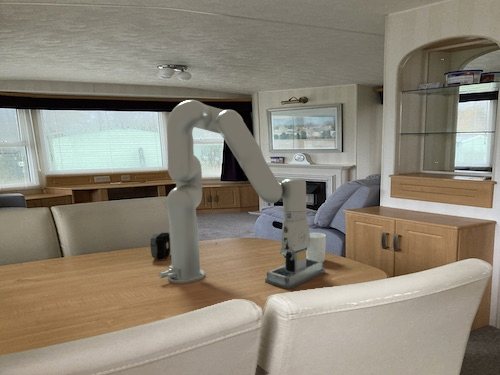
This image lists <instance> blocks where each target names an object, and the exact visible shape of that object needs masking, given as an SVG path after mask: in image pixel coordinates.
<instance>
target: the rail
mask: <svg viewBox="0 0 500 375" xmlns="http://www.w3.org/2000/svg"><path fill="white" fill-rule="evenodd" d="M325 273H326V269H324V262H321V261H316V260H312V259H308V258H307V257H306V268H305V269H303V270H300V271H298V272H296V273H292V272H288V271H285V264H284V265H280V266H279V267H276V268H273V269H271V270H269V271H266V278H265V279H264V282H265V283H268V284H271V285H273V286H276V287H281V288H283V289H286V290H292V289H294V288H296V287H297V286H300V285H302V284H304V283H306V282H309V281H310V280H312V279H314V278H316V277H319V276H320V275H322V274H325Z"/></svg>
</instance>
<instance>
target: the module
mask: <svg viewBox="0 0 500 375" xmlns="http://www.w3.org/2000/svg"><path fill="white" fill-rule="evenodd" d="M289 254H290V255H291V252H289ZM306 258H307V254H306V249H302V250H299V251H297V252H294V258H293V260H295V271H294V272H292V273H296V272H298V271H300V270H303V269H305V268H306ZM284 261H285V262H284V265H285V271H287V270H286V259H285V258H284ZM288 272H291V271H288Z"/></svg>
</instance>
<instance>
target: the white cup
mask: <svg viewBox="0 0 500 375" xmlns="http://www.w3.org/2000/svg"><path fill="white" fill-rule="evenodd" d="M309 233H310V245H309V247H307V250H306V258H308V259H312V260H316V261H321V262H323V263H324V262H325V259H326V257H325V256H326V247H327V246H326V245H327V243H326V242H327V235H326V234H325V233H322V232H309Z"/></svg>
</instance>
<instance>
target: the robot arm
mask: <svg viewBox="0 0 500 375" xmlns="http://www.w3.org/2000/svg"><path fill="white" fill-rule="evenodd" d="M194 128H196V129H201V130H205V131H208V132H212V133H215V134H219V135H221V137H222V138H223V140H224V142H225V143H226V144H227V146H228V148H229V149H230V151H231V152H232V154H233V156H234V158H235V159H236V161H237V162H238V164H239V166H240V168H241V169H242V171H243V173H244V175H245V176H246V177H247V179H248V181H249V183H250V184H251V186H252V187H253V189H254V190H255V193H257V195H258V196H259V198H260V199H261V200H262V201H263V202H265V203H267V204H275V203H277V202H279V201H280V200H281V199H282V204H283V206H282V207H283V220H282V221H283V222H282V228H281V248H280V250H279V253H280V255H282V256H283V257H284V260H285V259H286V270H287V271H291V272H294V271H295V260H293V258H294V252H297V251H299V250H302V249H306V250H307V247H309V245H310V233H311V232H310V225H309V221H308V218H307V182H306V180H305V179H304V178H301V177H288V178H280V177H276V176H275V174H274V173H273V172H272V170H271V168H270V167H269V165H268V163H267V161H266V159H265V157H264V155H263V151H262V149H261V147H260V146H259V144H258V142H257V140H256V139H255V138H254V136H253V135H252V132H251V130H249V128H248V127H247V124H246V123H245V122H244V119H243V117H242V116H241V115H240V114H239V113H238V112H237V111H236V110H233V109H222V108H217V107H214V106H211V105H208V104H205V103H203V102H201V101H199V100H195V99H189V100H184V101H182V102H180V103H179V104H177V105H176V106H175V107H174V108H173V109H172V111H171V112H170V113H169V116H168V118H167V123H166V135H167V137H166V138H167V142H166V143H167V148H166V149H167V171H168V172H167V173H168V175H169V177H170V178H171V180H173V181H175V187H174V188H173V189H171V190H170V192H169V193H168V195H167V197H166V199H165V200H166V201H165V205H166V206H165V207H166V213H167V218H168V227H169V236H170V237H169V238H170V256H171V257H170V259H171V265H169V266H168V269H167V270H164V271H161V272H159V274H158V276H159V279H164V278H166V277H167V280H168V281H169V282H171V283H175V284H188V283H189V284H190V283H195V282H197V281H201V280H202V279H203V278H205V275H206V274H205V271H204V270H203V269H201V265H200V262H201V261H200V243H199V225H198V223H199V222H198V217H197V216H198V215H197V207H198V206H200V204H201V202H202V198H203V180H202V179H203V178H202V177H203V176H202V175H203V172H202V165H201V162H200V160H199V158H198V157H197V156H196V155H195V154H194V153H195V152H194V137H193V130H194ZM289 252H291V255H290V254H289Z"/></svg>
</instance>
